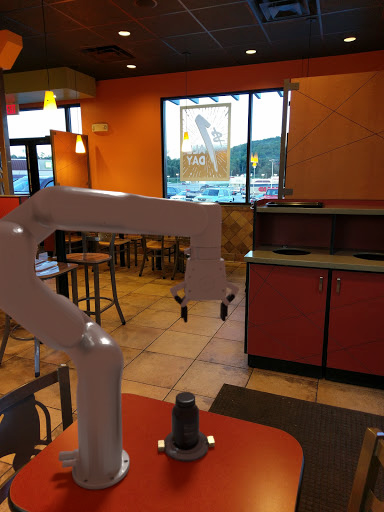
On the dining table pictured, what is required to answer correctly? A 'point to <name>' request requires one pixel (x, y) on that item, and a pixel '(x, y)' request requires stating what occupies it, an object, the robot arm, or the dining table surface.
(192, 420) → the supplement bottle
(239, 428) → the dining table surface
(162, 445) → the base
